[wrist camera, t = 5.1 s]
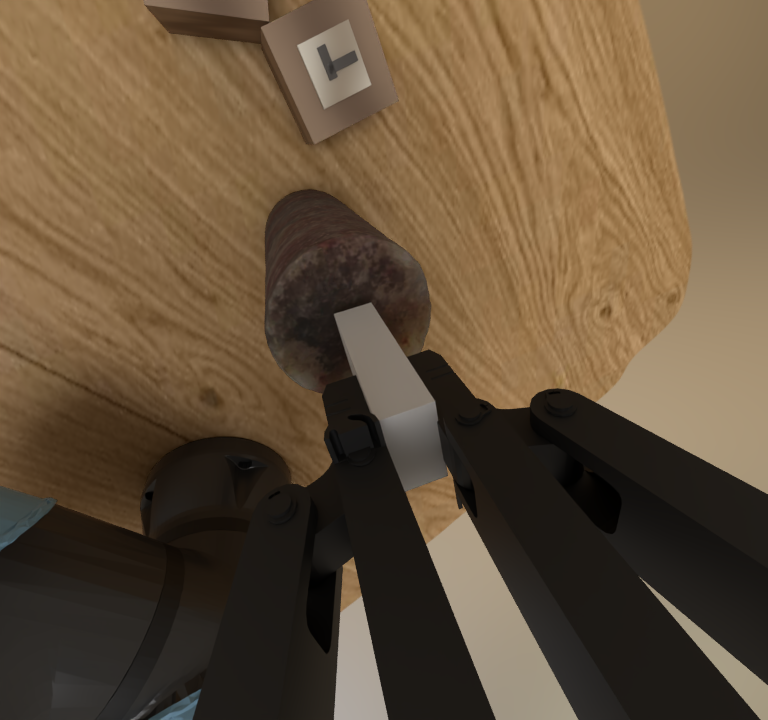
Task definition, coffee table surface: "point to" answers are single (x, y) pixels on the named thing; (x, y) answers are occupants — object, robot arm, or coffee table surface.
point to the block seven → (212, 18)
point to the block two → (328, 65)
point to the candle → (334, 286)
